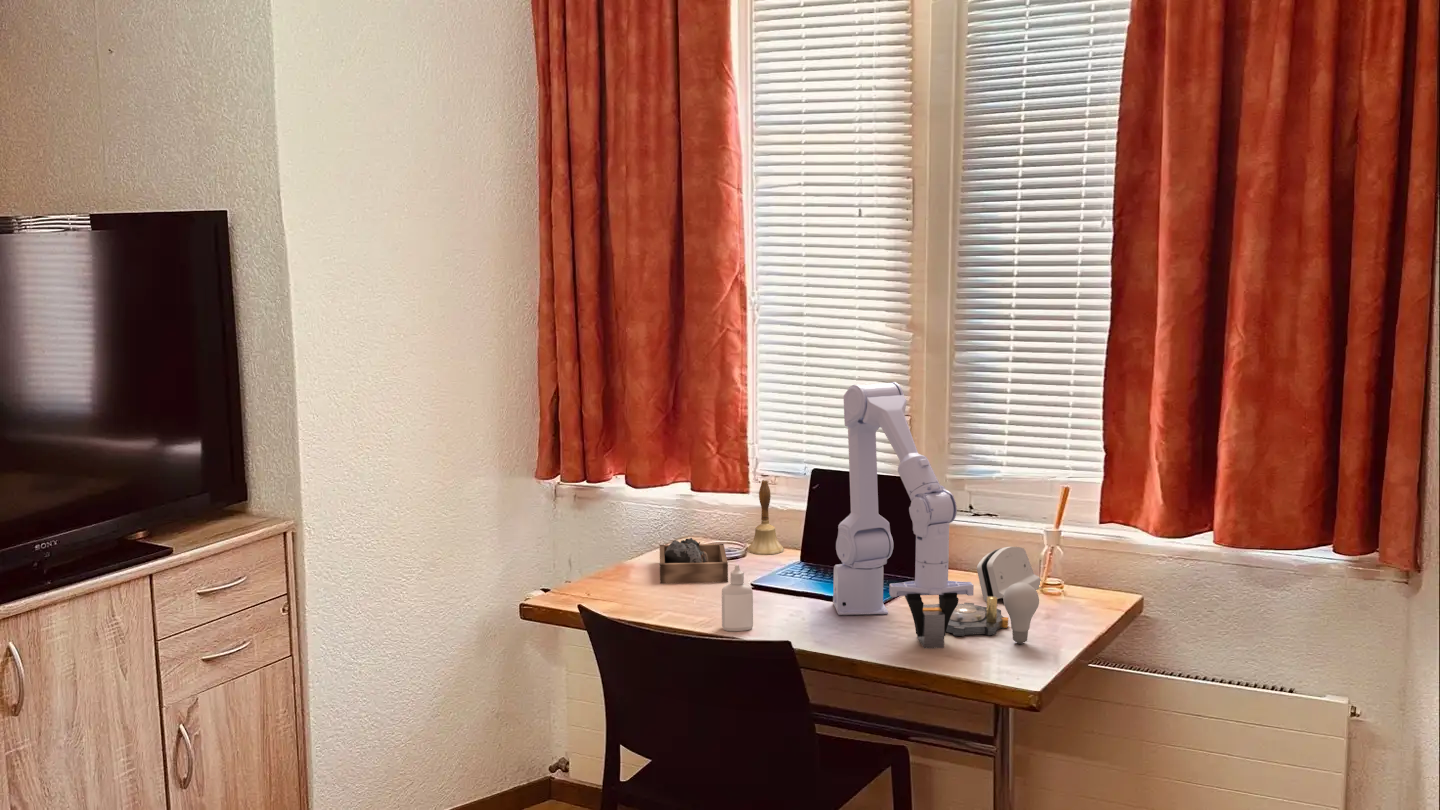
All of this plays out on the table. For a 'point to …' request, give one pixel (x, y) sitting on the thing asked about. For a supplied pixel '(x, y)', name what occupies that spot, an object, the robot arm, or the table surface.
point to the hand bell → (765, 528)
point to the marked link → (932, 627)
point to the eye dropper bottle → (737, 603)
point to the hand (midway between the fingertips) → (930, 634)
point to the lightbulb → (1020, 608)
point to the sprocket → (985, 627)
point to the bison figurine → (685, 552)
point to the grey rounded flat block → (1005, 571)
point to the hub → (968, 613)
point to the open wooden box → (696, 567)
